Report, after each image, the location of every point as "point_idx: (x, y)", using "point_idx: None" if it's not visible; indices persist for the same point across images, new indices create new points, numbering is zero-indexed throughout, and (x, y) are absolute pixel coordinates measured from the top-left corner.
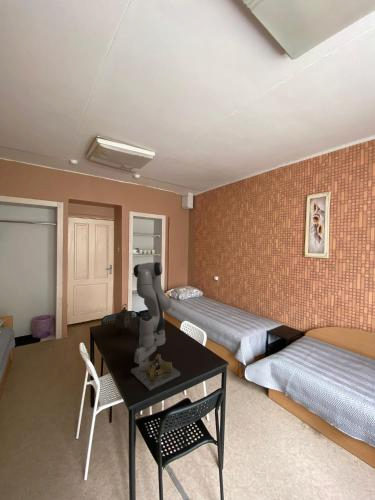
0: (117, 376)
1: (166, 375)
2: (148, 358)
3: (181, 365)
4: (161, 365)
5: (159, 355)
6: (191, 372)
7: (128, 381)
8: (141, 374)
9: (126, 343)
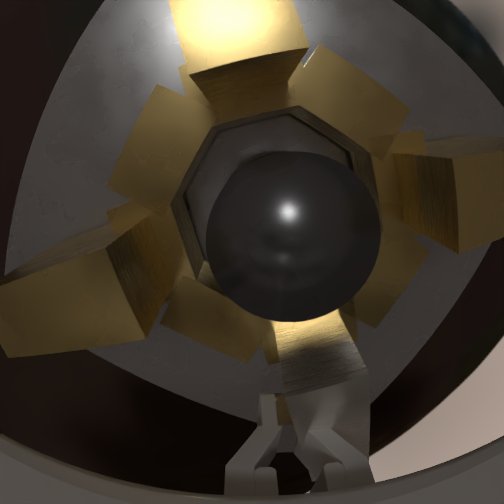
0: (384, 444)
1: (321, 6)
2: (249, 447)
3: (14, 28)
4: (178, 134)
5: (5, 301)
6: None
7: (437, 365)
8: (399, 329)
9: None
